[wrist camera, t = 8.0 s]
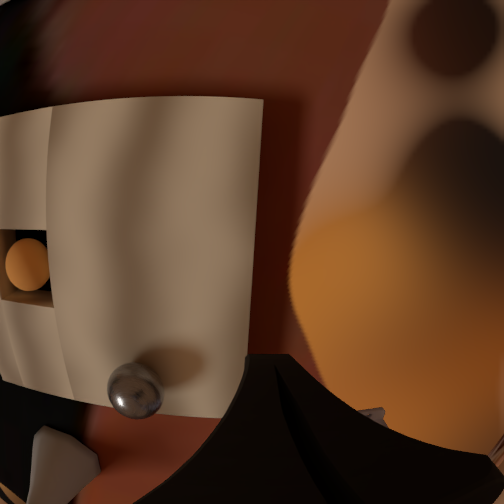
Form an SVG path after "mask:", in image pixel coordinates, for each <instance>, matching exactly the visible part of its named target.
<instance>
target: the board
mask: <svg viewBox="0 0 504 504" xmlns="http://www.w3.org/2000/svg"><path fill="white" fill-rule="evenodd" d="M262 115H263V100H262V99H250V98H234V97H211V96H159V97H136V98H121V99H109V100H98V101H89V102H81V103H73V104H66V105H59V106H53V107H47V108H41V109H36V110H31V111H26V112H21V113H16V114H12V115H7V116H3V117H0V373H1V375H2V378H3V380H5V381H8V382H11V383H14V384H17V385H20V386H23V387H27V388H30V389H34V390H37V391H41V392H44V393H48V394H52V395H56V396H60V397H64V398H69V399H73V400H77V401H82V402H87V403H92V404H97V405H102V406H108V407H113V406H112V404H111V402H110V400H109V398H108V394H107V383H108V379H109V377H110V375H111V374H112V372H113V371H114V370H115V369H116V368H117V367H119V366H121V365H123V364H125V363H131V362H136V363H141V364H144V365H147V366H149V367H150V368H152V369H153V370H154V371H155V372H156V373H157V374H158V375H159V377H160V378H161V380H162V382H163V385H164V390H165V396H164V401H163V404H162V406H161V407H160V409H159V410H158V411H157V412H156V413H157V414H167V415H178V416H191V417H207V418H222V417H223V416H224V414H225V413H226V411H227V409H228V407H229V405H230V403H231V401H232V400H233V398H234V396H235V394H236V391H237V389H238V386H239V384H240V381H241V379H242V376H243V372H244V363H245V357H246V356H247V349H248V334H249V319H250V303H251V288H252V272H253V257H254V241H255V226H256V210H257V194H258V179H259V163H260V147H261V131H262ZM15 229H23V230H47V249H48V262H49V272H50V282H51V290H52V292H51V291H43V290H33V291H24V290H21V289H19V288H17V287H16V286H15V285H14V284H13V283H12V282H11V281H10V279H9V277H8V275H7V272H6V266H5V262H6V256H7V253H8V251H9V249H10V248H11V247H12V245H13V244H15V243H16V231H15Z"/></svg>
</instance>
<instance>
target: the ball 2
mask: <svg viewBox="0 0 504 504" xmlns="http://www.w3.org/2000/svg"><path fill="white" fill-rule="evenodd" d="M107 394H108V398H109V400H110V402H111V404H112V406H113V407H114V408H115V409H116V410H117V411H118V412H119V413H120V414H122V415H123V416H126V417H128V418H131V419H145V418H148V417H150V416H152V415H154V414H155V413H156V412H157V411H158V410H159V409H160V407H161V406H162V404H163V401H164V396H165V390H164V385H163V382H162V380H161V378H160V377H159V375H158V374H157V373H156V372H155V371H154V370H153V369H152V368H150V367H149V366H147V365H144V364H141V363H136V362H131V363H125V364H123V365H121V366H119V367H117V368H116V369H115V370H114V371H113V372H112V374H111V375H110V377H109V379H108V383H107Z"/></svg>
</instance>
